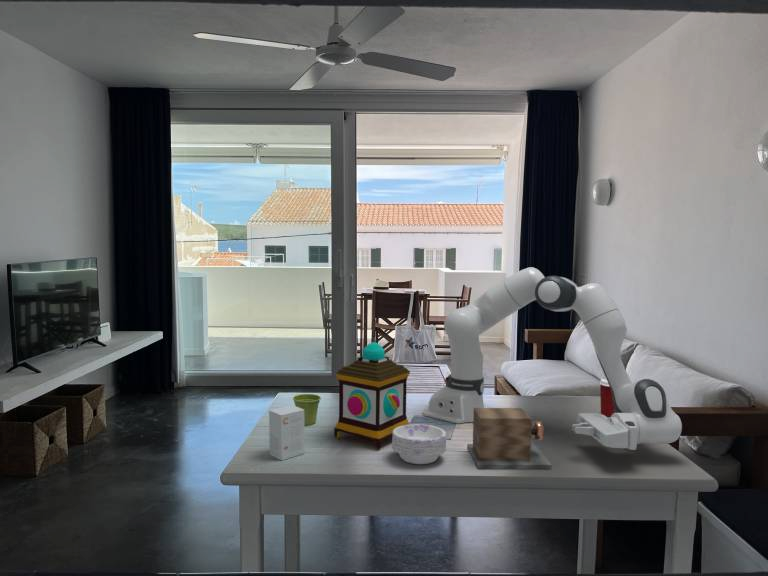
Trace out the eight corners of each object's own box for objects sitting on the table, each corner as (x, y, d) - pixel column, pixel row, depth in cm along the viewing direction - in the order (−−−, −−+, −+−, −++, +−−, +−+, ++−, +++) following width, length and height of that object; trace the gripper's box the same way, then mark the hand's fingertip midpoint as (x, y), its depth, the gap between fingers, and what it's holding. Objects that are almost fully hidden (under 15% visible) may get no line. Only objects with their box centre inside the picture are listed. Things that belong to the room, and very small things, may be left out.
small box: (292, 447, 164) (292, 404, 164) (305, 453, 160) (305, 409, 159) (268, 454, 159) (268, 409, 158) (280, 461, 154) (280, 415, 153)
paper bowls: (427, 445, 168) (428, 419, 167) (456, 463, 154) (457, 435, 154) (382, 453, 161) (382, 426, 160) (408, 473, 147) (408, 443, 147)
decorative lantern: (366, 422, 189) (367, 335, 186) (416, 434, 177) (418, 341, 175) (327, 439, 172) (328, 343, 170) (379, 453, 161) (380, 350, 159)
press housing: (533, 447, 167) (535, 405, 166) (551, 469, 151) (553, 422, 150) (467, 447, 166) (468, 404, 165) (478, 469, 150) (479, 421, 149)
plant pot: (317, 417, 194) (317, 392, 193) (323, 425, 185) (323, 400, 184) (290, 419, 191) (290, 394, 190) (295, 428, 182) (295, 402, 181)
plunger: (537, 435, 162) (538, 418, 161) (544, 442, 155) (545, 425, 155) (478, 435, 161) (479, 418, 161) (483, 442, 155) (483, 425, 155)
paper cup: (623, 424, 191) (625, 383, 190) (599, 422, 192) (601, 382, 191) (618, 417, 198) (620, 378, 197) (596, 415, 200) (597, 377, 199)
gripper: (606, 407, 169) (561, 407, 168) (639, 429, 148) (587, 429, 148) (606, 427, 169) (560, 428, 169) (638, 452, 149) (587, 452, 148)
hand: (573, 429), depth 158 cm, fingers closed
